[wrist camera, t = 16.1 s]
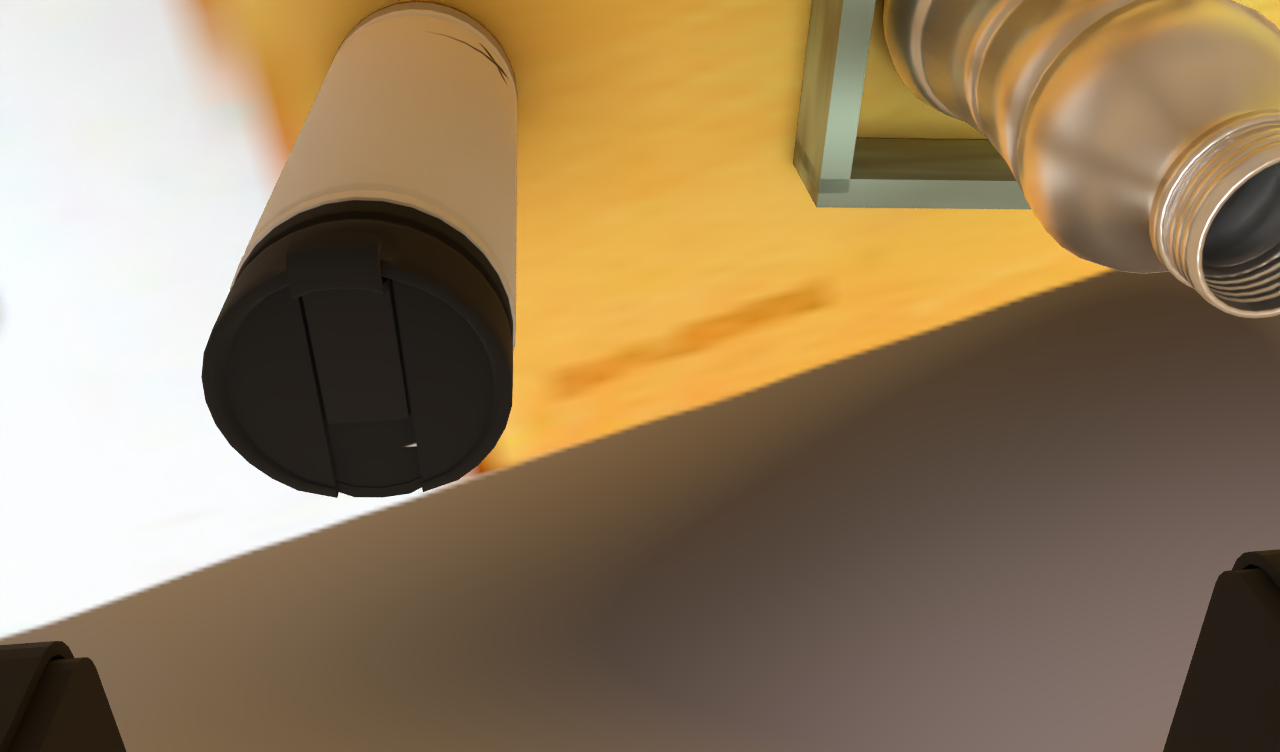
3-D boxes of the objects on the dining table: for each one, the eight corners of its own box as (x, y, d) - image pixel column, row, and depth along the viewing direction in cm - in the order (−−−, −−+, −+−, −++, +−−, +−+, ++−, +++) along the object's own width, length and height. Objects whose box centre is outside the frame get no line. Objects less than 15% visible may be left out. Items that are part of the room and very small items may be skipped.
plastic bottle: (831, 43, 41) (1052, 320, 24) (939, -150, 38) (1277, 8, 21) (983, 119, 43) (1290, 425, 26) (1097, -60, 40) (1526, 152, 23)
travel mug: (509, -15, 39) (501, 239, 22) (523, 175, 43) (526, 523, 26) (315, -7, 39) (154, 258, 22) (345, 184, 42) (226, 544, 25)
